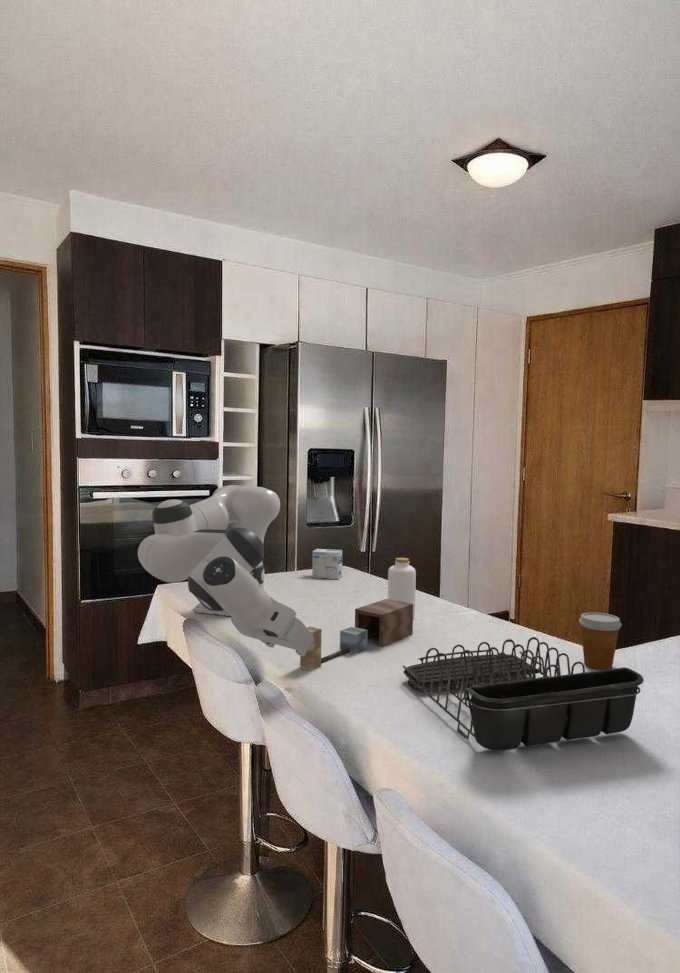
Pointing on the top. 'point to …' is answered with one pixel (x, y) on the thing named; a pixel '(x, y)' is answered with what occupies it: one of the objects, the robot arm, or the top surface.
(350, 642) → the tethered block
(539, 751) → the top surface
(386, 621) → the cubby
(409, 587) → the potion bottle
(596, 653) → the disposable coffee cup
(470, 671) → the dish rack
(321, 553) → the light bulb box
